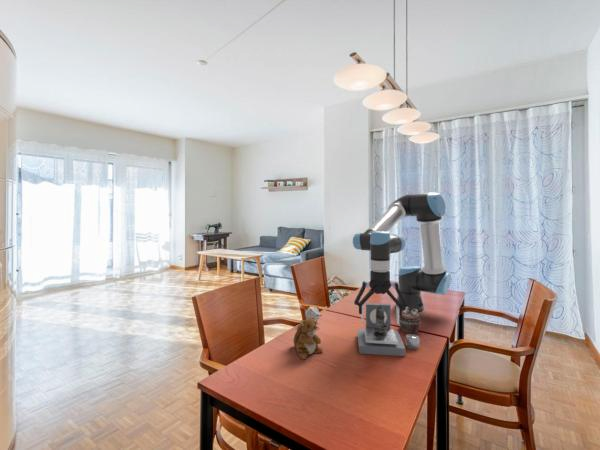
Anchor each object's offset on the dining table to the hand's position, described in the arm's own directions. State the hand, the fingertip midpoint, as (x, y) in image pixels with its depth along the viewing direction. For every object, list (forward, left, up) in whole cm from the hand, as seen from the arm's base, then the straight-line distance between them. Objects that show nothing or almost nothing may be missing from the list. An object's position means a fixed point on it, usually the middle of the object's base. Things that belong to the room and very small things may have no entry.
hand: (380, 322), depth 117 cm
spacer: (-13, -2, -10) cm, 17 cm away
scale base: (0, -2, -10) cm, 10 cm away
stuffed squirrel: (+29, +7, -10) cm, 32 cm away
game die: (+30, -22, -10) cm, 39 cm away
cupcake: (-15, -20, -10) cm, 27 cm away
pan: (0, 0, -7) cm, 7 cm away
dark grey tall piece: (0, 0, -5) cm, 5 cm away
